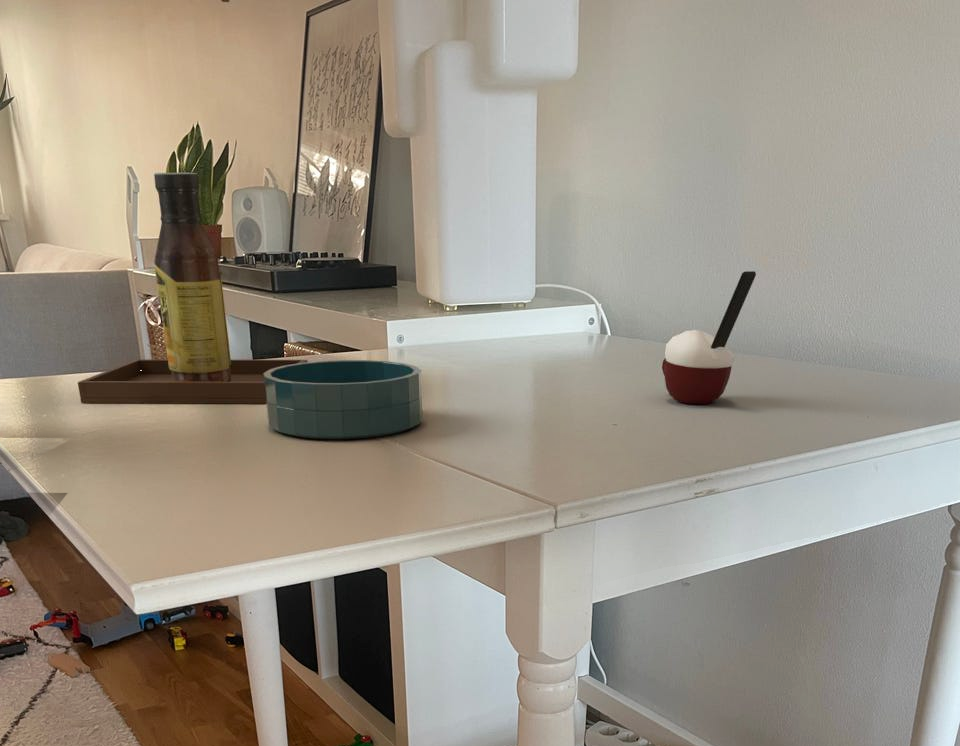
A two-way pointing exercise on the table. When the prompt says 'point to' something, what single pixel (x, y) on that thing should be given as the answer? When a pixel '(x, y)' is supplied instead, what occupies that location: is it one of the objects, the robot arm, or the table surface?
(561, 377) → the table surface
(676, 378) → the ice cream cup
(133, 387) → the tray
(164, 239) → the sauce bottle
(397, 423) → the bowl
